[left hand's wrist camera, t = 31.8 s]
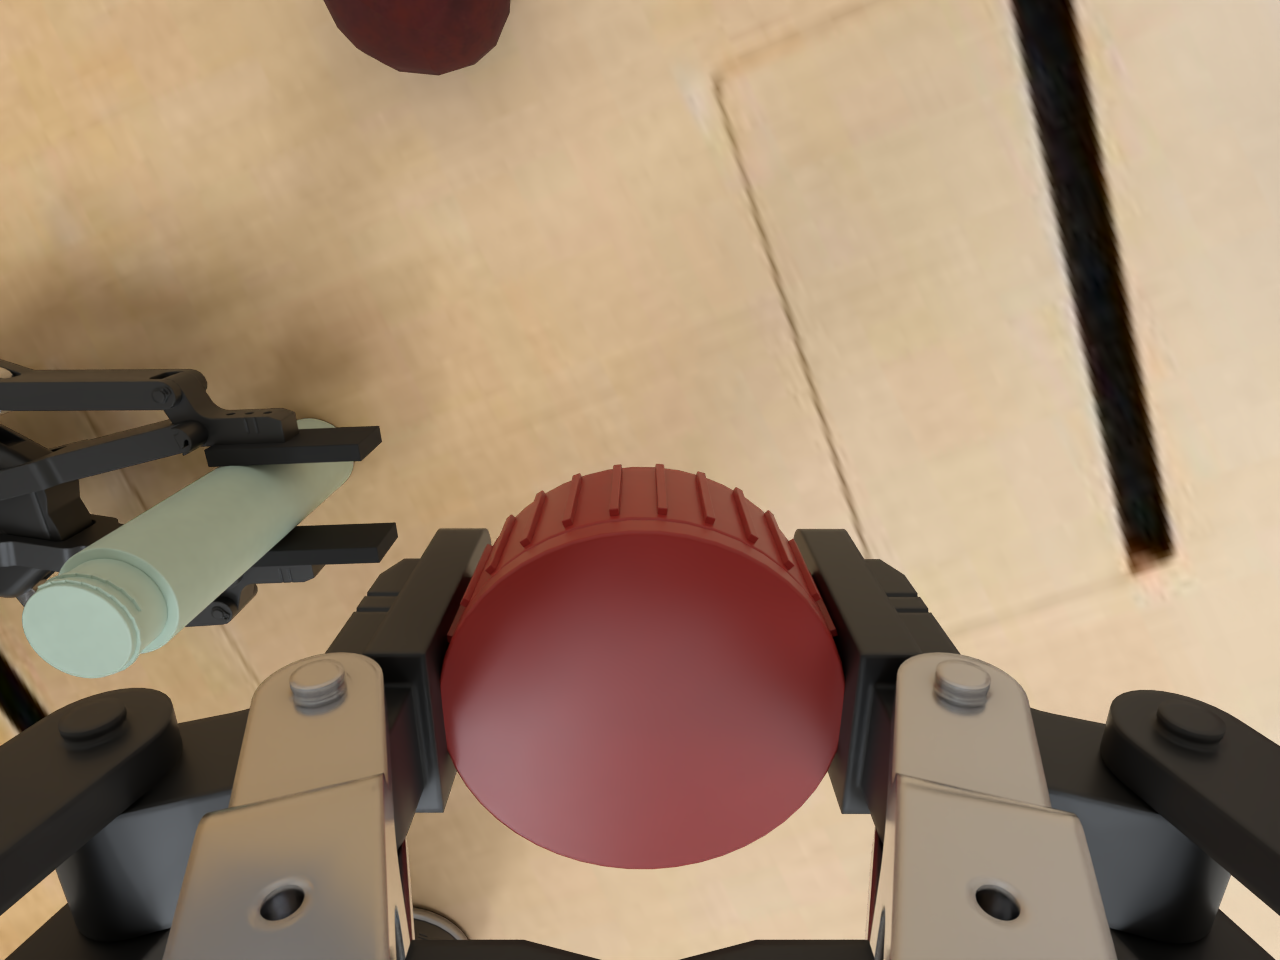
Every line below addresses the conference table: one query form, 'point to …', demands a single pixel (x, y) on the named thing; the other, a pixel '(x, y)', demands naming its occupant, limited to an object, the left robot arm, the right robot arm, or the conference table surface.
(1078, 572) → the conference table surface
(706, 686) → the lid
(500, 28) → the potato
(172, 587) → the pale green bottle
